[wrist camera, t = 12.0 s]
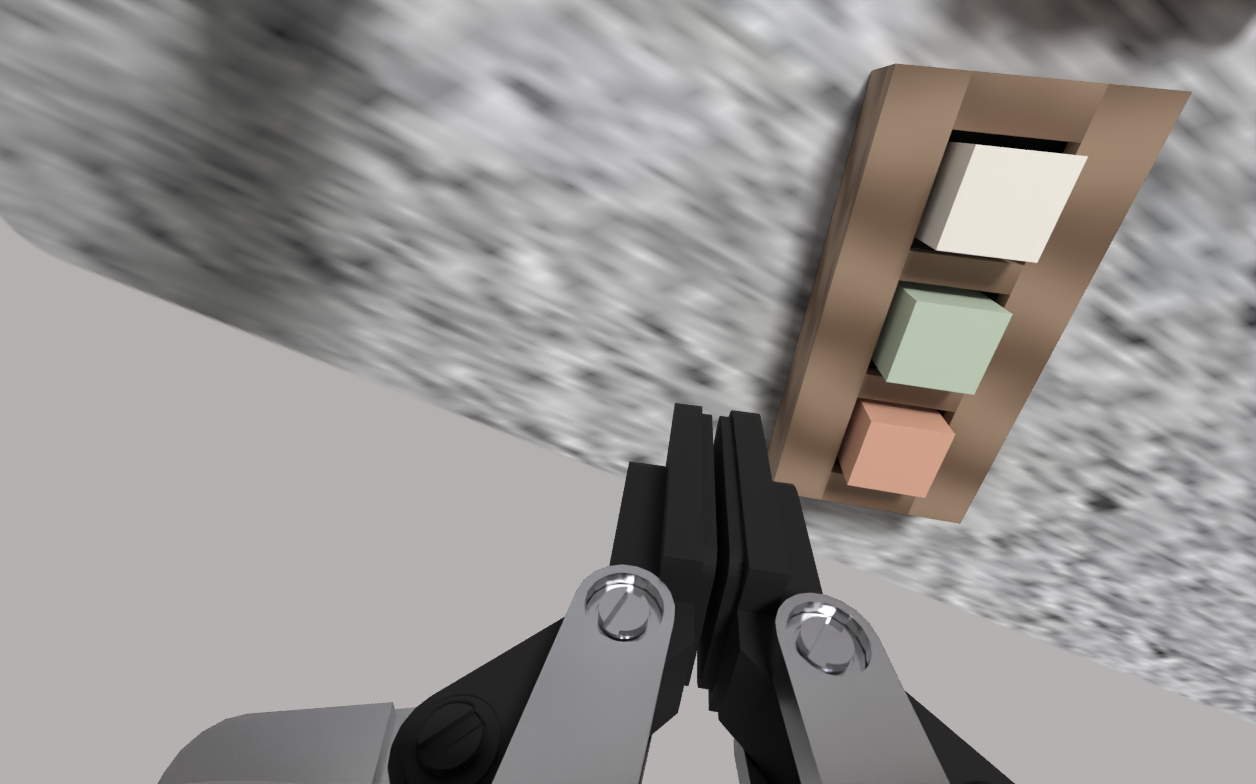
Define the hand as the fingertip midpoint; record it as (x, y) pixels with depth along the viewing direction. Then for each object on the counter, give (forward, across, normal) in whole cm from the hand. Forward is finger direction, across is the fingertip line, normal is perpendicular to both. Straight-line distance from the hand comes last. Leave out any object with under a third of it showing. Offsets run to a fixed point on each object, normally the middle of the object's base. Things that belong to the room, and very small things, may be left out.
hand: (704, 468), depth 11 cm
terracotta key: (+21, -13, +11) cm, 27 cm away
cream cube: (+21, -13, -3) cm, 25 cm away
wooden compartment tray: (+23, -13, +4) cm, 27 cm away
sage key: (+21, -13, +4) cm, 25 cm away
